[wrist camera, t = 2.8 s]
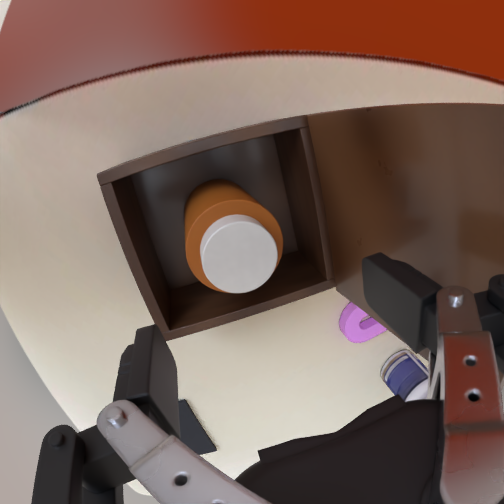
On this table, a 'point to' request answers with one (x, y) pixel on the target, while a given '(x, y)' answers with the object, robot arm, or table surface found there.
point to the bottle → (230, 237)
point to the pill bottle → (406, 376)
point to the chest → (173, 226)
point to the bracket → (358, 325)
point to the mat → (193, 431)
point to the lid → (413, 192)
